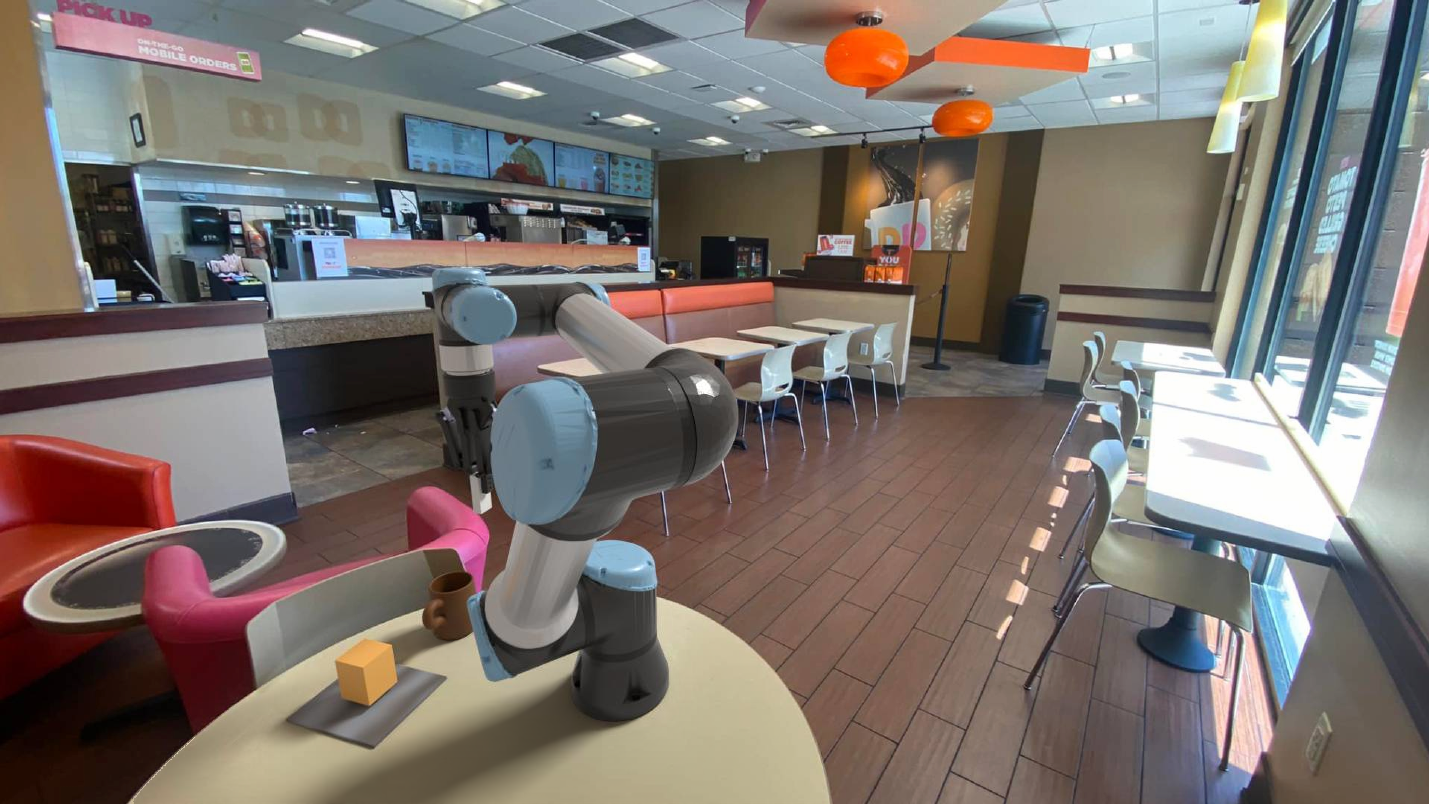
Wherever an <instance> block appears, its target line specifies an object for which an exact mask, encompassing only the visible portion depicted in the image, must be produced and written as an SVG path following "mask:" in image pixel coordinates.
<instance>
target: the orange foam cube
mask: <svg viewBox="0 0 1429 804" xmlns="http://www.w3.org/2000/svg"><path fill="white" fill-rule="evenodd" d="M395 664H396V663H395V655H394V650H393V644H389V643H385V642H381V641H378V640H373V639H368V638H363V639H362V640H360V641H359V642H358V643H356V644H355V645H354V646H352V647H351V648H349V649H348V650H347V651H345V652H344V653H343V654H341V655H340V656H338V657H337V658H336V659H335V660H334V665H335V668H336V669H335V670H336V674H337V679H338V681H339V686H340V691H341V697H342V698H343V699H347V700H350V701H354V702H357V703H361V704H364V705H368V706H370V705H371V704H372V703H374V702H375V701H376V700H377V699H378V698H379V697H380V696H382V695H383V694H384V693H385V692H386V691H387V690H388V689H390V688H391V687H392V686H393V685H394V684H395V683H396V682H397V675H396V669H395Z"/></svg>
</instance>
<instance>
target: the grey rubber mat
mask: <svg viewBox="0 0 1429 804" xmlns="http://www.w3.org/2000/svg"><path fill="white" fill-rule="evenodd" d="M395 669H396V675H397V682H396V683H395V684H394V685H393V686H392V687H391V688H390V689H388V690H387V691H386V692H385V693H384V694H383V695H382V696H380V697H379V698H378V699H377V700H376V701H375V702H374V703H372V704H371V705H370V706H368V705H364V704H361V703H357V702H354V701H350V700H347V699H343V698H342V697H341V691H340V686H339V681H338V678H336V680H334V681H333V682H331V683H329V685H328V686H326V687H325V688H324V689H322V690H321V691H320V692H319V693H317V694H315V696H313V697H312V698H311V699H309V700H308V701H307V702H306V703H304V704H303V705H301V706H300V707H299V708H298V709H296V710H295V711H294V712H293V713H291V714H290V715H288V717H286V718H285V721H286V722H287V723H291V724H295V725H298V726H301V727H305V728H308V729H311V730H314V731H317V732H319V733H324V734H327V735H331V736H334V737H338V738H340V739H344V740H347V741H349V742H354V743H357V744H360V745H364V746H366V747H369V748H373V749H375V748H376V747H377V746H379V745H380V743H382V741H384V739H386V738H387V737H388V736H389V735H390V734H392V732H393V731H394V730H396V728H397V727H398V726H399V725H401V724H402V722H404V721H405V720H406V718H408V717H409V716H410V715H411V714H412V713H414V711H415V710H416V709H417V708H418V707H419V706H421V704H422V703H423V702H424V701H425V700H427V698H429V697H430V696H431V694H433V693H434V692H435V691H436V690H437V689H438V688H439V687H440V686H441V685H442V684H443V683H444V682H445V681H446V680H447V679H448V676H446V675H442V674H440V673H439V674H438V673H434V672H430V671H428V670H427V671H426V670H423V669H419V668H415V667H410V666H407V665H403V664H399V663H395Z"/></svg>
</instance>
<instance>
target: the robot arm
mask: <svg viewBox="0 0 1429 804" xmlns="http://www.w3.org/2000/svg"><path fill="white" fill-rule="evenodd" d="M431 279H432V280H431V281H432V282H431V283H432V289H431V294H432V296H433V303H434V311H435V318H436V327H437V334H438V345H439V346H438V347H439V348H438V349H439V357H440V358H439V359H440V366H441V367H440V368H441V370H442V371H444V373H443V374H442V384H443V392H444V396H445V397H446V398H447V402H446V406H445V408H443V409H442V410H439V411H436V412H435V413H434V417H435V419H436V420H437V422H438V423H439V425H440V426H441V430H442V433H443V436H444V440H445V442H446V445H447V448H448V452H449V453H450V454H449V455H450V459H451V461H452V464H453V467H454V469H455V470H461V471H463V472H464V474H465V475H466V482H467V489H468V491H469V493H471V500H472V501H471V502H472V508H473V509H472V511H473V513H474V514H477V515H478V514H479V515H482V514H484V513H485V512H487V511H489V510H490V509H491V508H492V507H493V506H492V495H491V492H493V491H494V488H495V492H496V494H497V498H498V500H499V502H500V505H501V507H502V509H503V510H504V513H506V514H507V516H508V517H510V518H511V519H512V520H513V521H516V522H515V525H514V530H513V534H512V538H511V542H510V543H511V544H510V547H509V552H508V556H507V561H506V564H505V569H504V570H502V571H501V572H500V573H499V574H498V575H496V577H495V578H494V579H493V581H492V582H491V584H490V585H489V588H488V590H480V591H478V593H477V592H476V594H475V595H473V596H471V597H470V598H469V599H468V600H467V608H468V612H469V616H470V620H471V624H472V628H473V632H472V633H473V636H474V640H475V643H476V644H475V645H476V647H477V650H478V655H479V658H480V663H481V666H482V669H483V673H484V677H485V678H486V680H488V681H489V682H492V683H496V682H500V681H504V680H507V679H515V678H516V677H517V676H518V675H520V674H524V673H525V672H527V671H530V670H534V669H536V668H538V667H541V666H543V665H546V664H548V663H551V662H553V661H556V660H559V659H562V658H564V657H566V656H569V655H571V654H574V653H576V652H578V653H577V656H576V660H575V663H574V665H573V666H574V667H573V669H572V674H571V678H570V681H571V683H570V684H571V698H572V699H573V702H574V703H575V706H577V708H578V709H579V710H580V711H581V712H582V713H584V714H585V715H587V716H590V717H591V718H594V719H598V720H601V721H609V722H618V721H627V720H631V719H635V718H638V717H640V716H643V715H645V714H646V713H648V712H650V711H651V710H652V709H654V708H656V707H657V706H658V705H659V704H660V703H661V702H662V701H663V699H664V698H665V696H666V694H667V693H668V690H669V685H670V668H669V667H670V666H669V663H668V661H667V658H666V656H665V653H664V650H663V648H662V646H661V643H660V640H659V638H658V615H657V614H658V611H657V609H658V602H657V600H658V599H657V593H658V592H657V586H658V578H657V572H656V564H655V560H654V558H653V556H652V554H651V553H650V552H649V551H648V550H647V549H645V548H644V547H643V546H640V545H638V544H635V543H632V542H628V541H624V540H616V539H607V540H606V539H605V540H604V539H603V540H598V539H600V538H602V537H605V535H607V534H609V533H610V532H611V531H612V530H614V529H615V528H616V527H617V526H619V524H620V523H621V521H623V518H624V516H626V513H627V511H628V509H629V507H630V505H631V502H632V501H634V500H635V499H640V498H642V497H646V496H650V495H654V494H658V493H662V492H666V491H669V490H673V489H677V488H682V487H685V486H689V485H693V484H695V483H697V482H698V481H701V480H702V479H704V478H706V477H707V476H709V475H710V474H711V473H712V472H713V471H715V470H716V469H717V468H718V467H719V466H720V465H721V464H722V462H723V461H724V459H726V457H727V455H728V454H729V452H730V450H731V449H732V447H733V444H734V443H735V442H734V441H735V439H736V435H737V431H738V427H739V406H738V402H737V397H736V394H735V392H734V389H733V388H732V385H731V383H730V382H729V380H728V379H727V377H726V376H725V374H724V373H723V372H722V371H721V369H720V368H719V367H718V366H716V365H715V364H714V363H712V362H711V361H710V360H709V359H706V358H705V357H704V356H702V355H701V354H699V353H698V352H696V351H695V350H692V349H690V348H687V347H682V346H681V347H679V346H677V347H672V346H670V345H669V344H667V343H665V342H664V341H662V340H661V339H660V338H659V337H656V336H655V335H653V334H652V333H650V332H649V331H647V329H646V330H645V328H643V327H642V326H640V325H638V324H637V323H635V322H634V321H632V320H631V319H629V318H627V317H626V316H625V315H623V314H622V313H620V312H618V311H617V310H615V309H614V308H612V307H611V301H610V297H609V295H608V293H607V291H606V289H605V287H603V285H601V284H599V283H597V282H583V281H575V282H566V283H565V282H560V283H558V282H557V283H556V282H555V283H537V284H535V283H534V284H533V283H532V284H527V283H526V284H523V283H522V284H494V285H493V284H492V285H491V284H489V285H488V281H487V276H486V273H485V271H484V270H483V269H480V268H477V267H455V268H454V267H451V268H450V267H448V268H446V267H445V268H437V269H435V270H434V271H432V275H431ZM551 336H559V337H561V339H563V340H564V341H566V342H567V343H568V344H569V345H570V346H571V347H573V349H575V350H576V351H577V352H578V353H579V354H580V355H581V356H583V357H584V359H586V360H587V361H588V362H589V363H591V365H593V366H594V368H595V369H597V370H598V371H599V372H601V373H599V374H589V375H582V376H581V375H580V376H574V377H567V376H551V377H547V378H545V379H543V380H541V381H537V382H536V381H535V382H530V383H524V384H520V385H517V386H515V387H513V388H512V389H509V391H508V392H507V393H505V395H504V396H503V397H502V398H501V400H500V402H499V403H497V401H496V398H495V395H496V392H497V383H496V374H495V372H496V371H495V370H493V369H492V368H493V367H494V365H495V364H494V353H493V345H495V344H496V345H497V344H499V343H501V342H502V341H505V340H512V339H513V340H514V339H524V338H525V339H526V338H536V337H538V338H539V337H551ZM597 540H598V541H597Z"/></svg>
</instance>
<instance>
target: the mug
mask: <svg viewBox="0 0 1429 804" xmlns="http://www.w3.org/2000/svg"><path fill="white" fill-rule="evenodd" d="M475 594H477V588H476V581H475V577H474V575H473V574H472V573H471V572H470V571H469V572H468V571H464V570H455V571H449V572H445V573H442V574H440V575H438V576H437V577H435V578H434V579H432V580H431V581H430V583H429V585H428V600H429V602H428V603H426V605H425V607H424V608H423V611H422V616H421V622H422V625H423V627H424V628H425V629H426V630H429V631H433V633H434V635H435V637H438V638H439V639H441V640H448V641H449V640H451V641H452V640H458V639H462V638H464V637H467V636H468V635H470V634H471V633H474V632H473V628H472V624H471V620H470V616H469V612H468V608H467V600H468V599H469V598H470V597H471V596H473V595H475Z"/></svg>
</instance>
